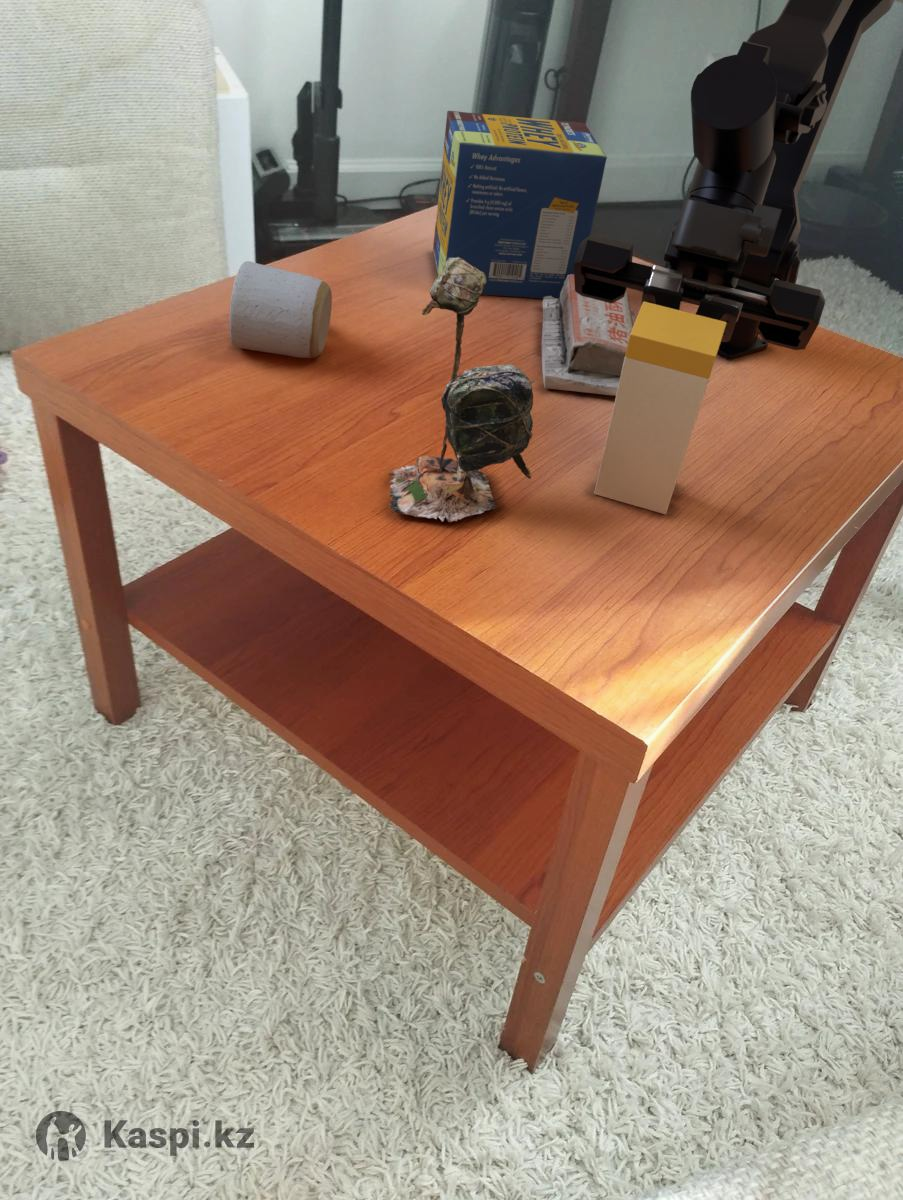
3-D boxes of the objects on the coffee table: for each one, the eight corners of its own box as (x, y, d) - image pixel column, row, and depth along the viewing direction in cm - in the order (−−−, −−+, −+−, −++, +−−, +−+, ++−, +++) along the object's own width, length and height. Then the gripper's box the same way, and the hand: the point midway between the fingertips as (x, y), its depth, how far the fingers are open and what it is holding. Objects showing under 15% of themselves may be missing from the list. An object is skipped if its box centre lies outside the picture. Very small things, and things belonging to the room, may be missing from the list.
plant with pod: (524, 540, 75) (576, 287, 62) (375, 517, 75) (397, 260, 62) (528, 480, 81) (576, 239, 68) (391, 459, 81) (413, 214, 68)
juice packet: (606, 461, 83) (643, 300, 70) (676, 481, 82) (727, 321, 69) (593, 494, 81) (629, 334, 68) (665, 515, 80) (716, 356, 67)
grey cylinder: (318, 374, 90) (320, 293, 85) (228, 361, 90) (226, 279, 85) (338, 325, 98) (341, 248, 93) (255, 313, 98) (255, 236, 93)
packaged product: (547, 264, 103) (642, 277, 103) (539, 308, 106) (631, 321, 107) (550, 343, 89) (659, 358, 90) (541, 391, 93) (646, 405, 93)
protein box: (430, 253, 114) (445, 108, 104) (560, 262, 116) (588, 122, 106) (439, 293, 106) (456, 141, 96) (579, 302, 109) (610, 154, 99)
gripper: (606, 121, 71) (539, 325, 70) (871, 180, 68) (804, 394, 67) (605, 201, 82) (547, 378, 81) (833, 254, 79) (775, 439, 78)
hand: (661, 395), depth 76 cm, fingers closed
